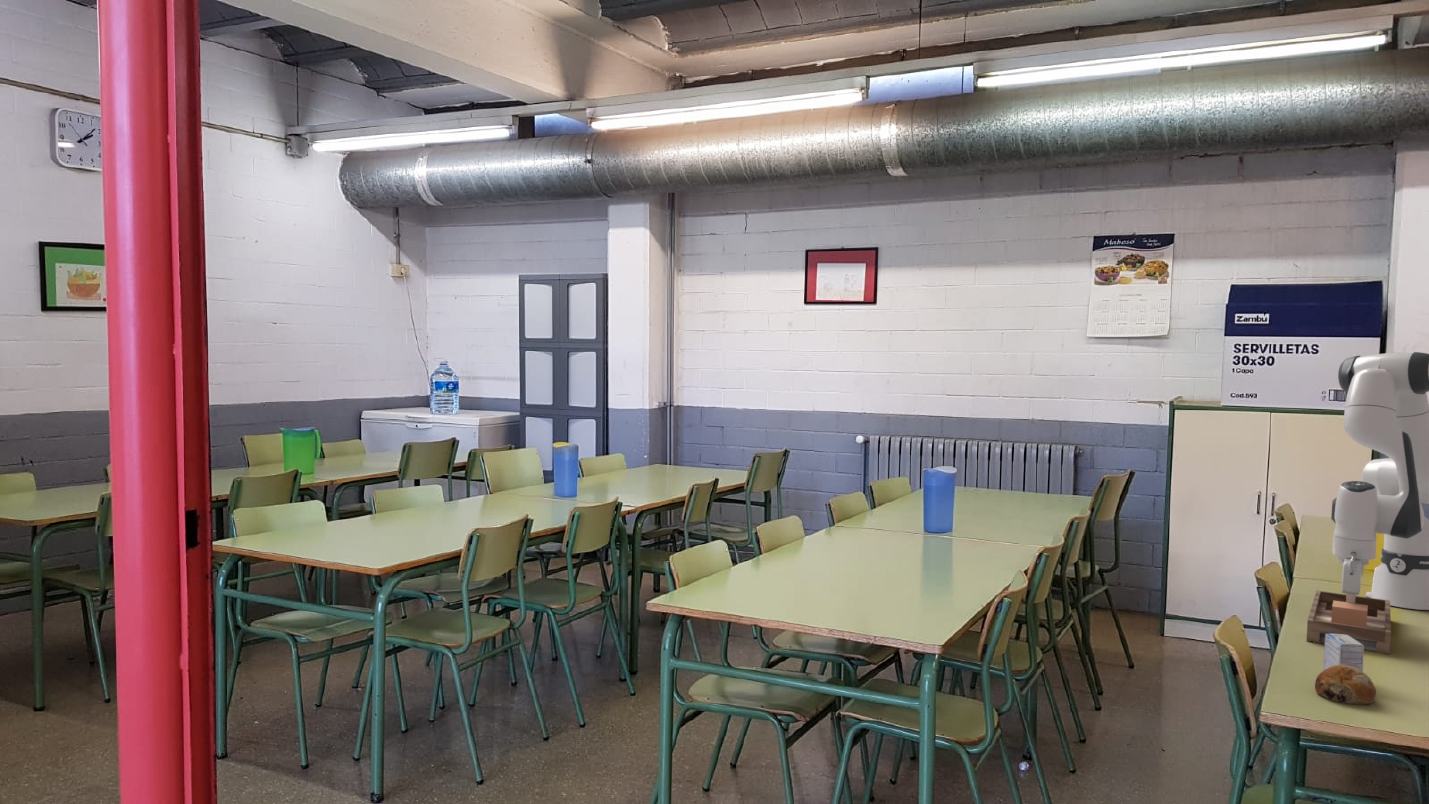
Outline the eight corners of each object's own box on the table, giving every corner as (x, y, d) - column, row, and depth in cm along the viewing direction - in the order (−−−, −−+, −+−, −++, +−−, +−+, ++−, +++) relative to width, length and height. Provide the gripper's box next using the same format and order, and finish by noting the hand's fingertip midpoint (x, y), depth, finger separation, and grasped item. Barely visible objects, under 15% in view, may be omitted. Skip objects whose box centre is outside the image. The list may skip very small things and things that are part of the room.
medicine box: (1362, 688, 199) (1365, 645, 198) (1338, 685, 199) (1340, 643, 199) (1345, 675, 206) (1348, 634, 206) (1322, 673, 207) (1324, 632, 207)
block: (1332, 618, 242) (1333, 600, 241) (1366, 623, 238) (1367, 605, 238) (1330, 624, 236) (1332, 606, 236) (1366, 630, 232) (1367, 611, 232)
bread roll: (1378, 724, 189) (1396, 686, 189) (1337, 703, 187) (1355, 665, 187) (1337, 705, 199) (1355, 669, 199) (1298, 685, 197) (1315, 649, 197)
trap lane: (1315, 609, 260) (1316, 590, 260) (1388, 620, 252) (1389, 600, 251) (1306, 641, 231) (1307, 619, 230) (1389, 654, 222) (1390, 632, 221)
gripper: (1368, 558, 229) (1365, 617, 230) (1370, 544, 246) (1366, 599, 247) (1336, 554, 233) (1333, 612, 234) (1340, 541, 250) (1336, 595, 251)
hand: (1350, 605), depth 241 cm, fingers closed
